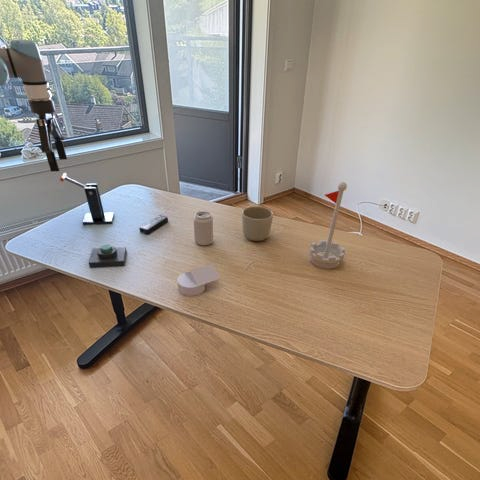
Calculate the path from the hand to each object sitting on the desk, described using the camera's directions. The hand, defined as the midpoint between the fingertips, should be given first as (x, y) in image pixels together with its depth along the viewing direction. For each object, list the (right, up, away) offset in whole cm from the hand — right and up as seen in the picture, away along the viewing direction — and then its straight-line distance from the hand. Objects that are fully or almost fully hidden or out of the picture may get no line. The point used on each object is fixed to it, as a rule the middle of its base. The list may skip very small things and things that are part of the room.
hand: (59, 165), depth 130 cm
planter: (+75, -24, +15) cm, 80 cm away
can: (+54, -27, +10) cm, 61 cm away
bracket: (+6, -15, +21) cm, 27 cm away
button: (+20, -34, -5) cm, 39 cm away
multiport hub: (+31, -19, +18) cm, 41 cm away
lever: (+2, -4, +11) cm, 12 cm away
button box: (+20, -36, -2) cm, 41 cm away
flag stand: (+101, -36, +3) cm, 107 cm away
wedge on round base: (+53, -47, -12) cm, 72 cm away
